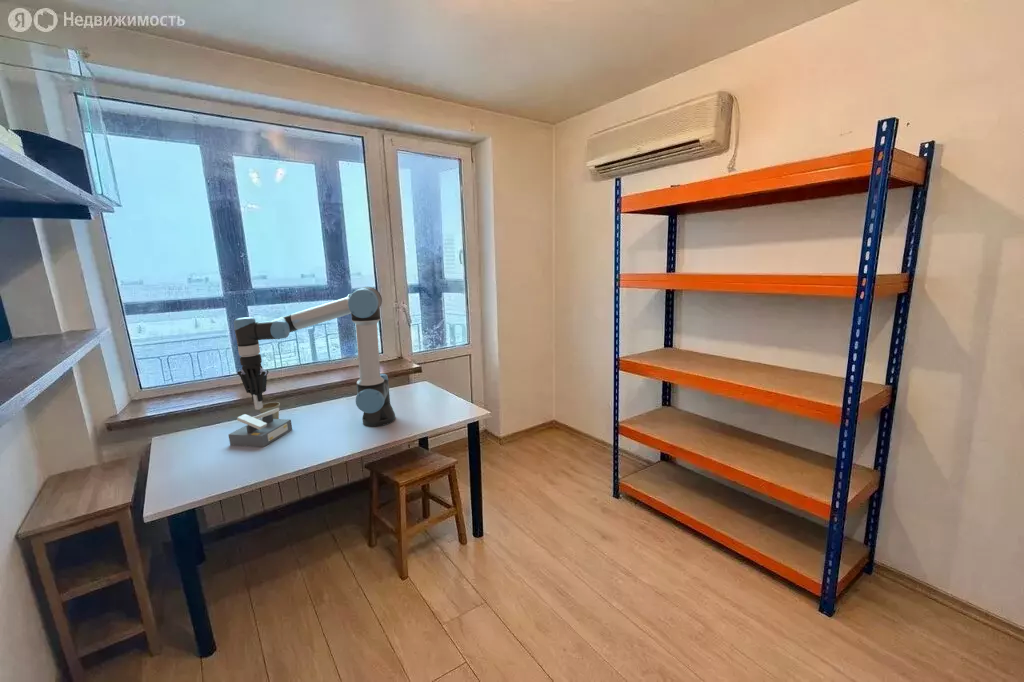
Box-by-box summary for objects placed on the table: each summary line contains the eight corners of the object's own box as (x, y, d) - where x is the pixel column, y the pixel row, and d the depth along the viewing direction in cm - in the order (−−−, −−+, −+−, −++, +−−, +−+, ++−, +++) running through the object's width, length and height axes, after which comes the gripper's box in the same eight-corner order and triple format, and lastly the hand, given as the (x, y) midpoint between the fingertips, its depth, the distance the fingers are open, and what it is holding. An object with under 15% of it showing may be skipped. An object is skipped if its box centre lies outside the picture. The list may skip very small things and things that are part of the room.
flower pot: (256, 424, 199) (253, 407, 197) (274, 417, 207) (272, 400, 205) (267, 427, 195) (265, 410, 193) (286, 420, 203) (284, 403, 201)
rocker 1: (266, 426, 179) (267, 423, 179) (259, 429, 175) (260, 426, 175) (244, 416, 180) (244, 413, 179) (237, 420, 176) (237, 417, 176)
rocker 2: (279, 410, 187) (278, 407, 187) (273, 413, 183) (272, 410, 183) (260, 417, 189) (259, 414, 189) (254, 420, 185) (252, 417, 185)
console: (293, 429, 191) (290, 413, 189) (264, 447, 173) (261, 429, 172) (261, 428, 193) (259, 411, 192) (230, 445, 176) (227, 427, 174)
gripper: (270, 352, 173) (279, 405, 178) (243, 352, 175) (252, 404, 180) (256, 356, 166) (266, 412, 171) (228, 356, 168) (238, 411, 173)
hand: (259, 408), depth 175 cm, fingers closed
